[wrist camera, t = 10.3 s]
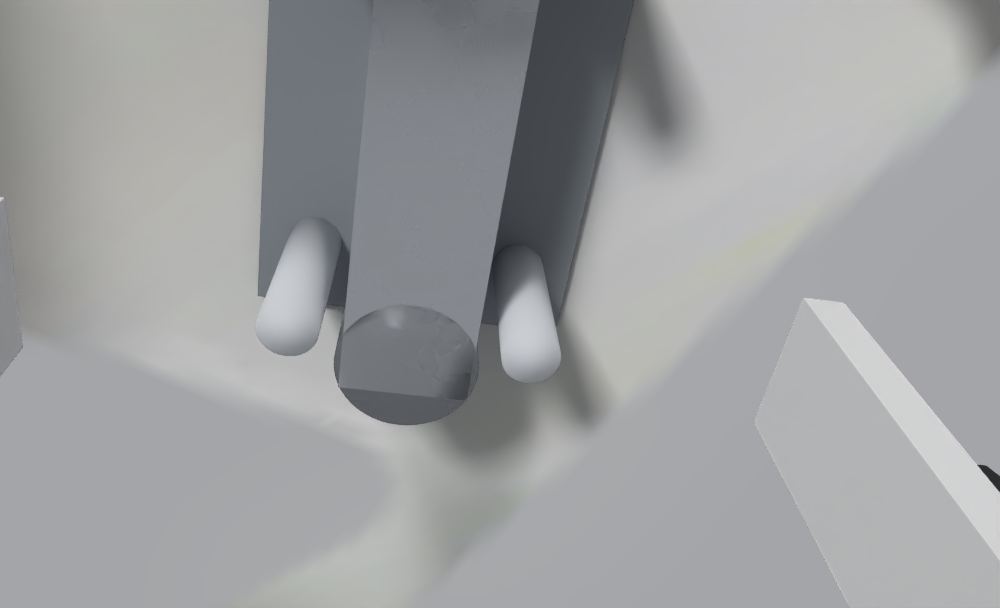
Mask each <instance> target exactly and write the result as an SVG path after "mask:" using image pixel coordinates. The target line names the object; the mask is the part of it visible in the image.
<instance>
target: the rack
mask: <svg viewBox="0 0 1000 608" xmlns="http://www.w3.org/2000/svg"><path fill="white" fill-rule="evenodd" d="M633 2H634V0H539V6H538V11H537V17H536V22H535V28H534V33H533V39H532V44H531V50H530V55H529V61H528V66H527V72H526V77H525V83H524V88H523V94H522V99H521V105H520V110H519V116H518V121H517V126H516V132H515V137H514V143H513V148H512V154H511V159H510V165H509V170H508V176H507V181H506V187H505V192H504V198H503V203H502V209H501V214H500V220H499V225H498V231H497V236H496V242H495V247H494V253H493V258H492V264H491V269H490V275H489V280H488V286H487V291H486V297H485V302H484V308H483V313H482V319H481V323H485V324H493V325H498V330H499V340H500V351H501V361H502V366H503V368H504V370H505V372H506V373H507V374H508V375H509V376H510V377H511V378H513V379H514V380H517V381H519V382H523V383H537V382H541V381H543V380H546V379H548V378H549V377H551V376H552V375H553V374H554V373H555V372H556V371H557V369H558V367H559V365H560V363H561V351H560V346H559V341H558V336H557V331H556V326H557V322H558V318H559V314H560V310H561V305H562V301H563V297H564V293H565V289H566V284H567V280H568V276H569V272H570V267H571V263H572V259H573V255H574V251H575V246H576V242H577V238H578V234H579V229H580V225H581V221H582V217H583V213H584V208H585V204H586V200H587V196H588V192H589V187H590V183H591V179H592V175H593V170H594V166H595V162H596V158H597V154H598V149H599V145H600V141H601V137H602V132H603V128H604V124H605V120H606V116H607V111H608V107H609V103H610V99H611V95H612V90H613V86H614V82H615V78H616V73H617V69H618V65H619V61H620V57H621V52H622V48H623V44H624V40H625V35H626V31H627V27H628V23H629V19H630V14H631V10H632V6H633ZM373 3H374V0H269V20H268V46H267V71H266V97H265V123H264V149H263V174H262V200H261V226H260V251H259V277H258V296H263V297H265V299H264V302H263V305H262V307H261V310H260V312H259V315H258V318H257V320H256V326H255V328H256V334H257V337H258V339H259V340H260V342H261V343H262V344H263V345H264V346H265V347H266V348H267V349H269V350H270V351H272V352H274V353H276V354H279V355H284V356H296V355H300V354H303V353H305V352H307V351H309V350H310V349H311V348H312V347H313V346H314V345H315V343H316V341H317V339H318V336H319V332H320V328H321V324H322V320H323V316H324V312H325V308H326V304H329V305H337V306H345V304H346V297H347V286H348V275H349V264H350V253H351V242H352V231H353V221H354V210H355V199H356V188H357V177H358V166H359V155H360V145H361V134H362V123H363V112H364V101H365V90H366V79H367V69H368V58H369V47H370V36H371V25H372V14H373Z"/></svg>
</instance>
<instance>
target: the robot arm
mask: <svg viewBox="0 0 1000 608" xmlns="http://www.w3.org/2000/svg"><path fill="white" fill-rule="evenodd" d="M22 348H23V345H22V337H21V328H20V320H19V312H18V304H17V295H16V287H15V279H14V271H13V262H12V254H11V246H10V238H9V229H8V221H7V213H6V205H5V198H2V197H0V376H1V375H2V374H3V372H4V371H5V370H6V369H7V367H8V366H9V365H10V363H11V362H12V361H13V359H14V358H15V357H16V356H17V354H18V353H19V352H20V350H21V349H22ZM754 424H755V426H756V428H757V430H758V432H759V433H760V436H761V437H762V439H763V441H764V443H765V445H766V447H767V449H768V451H769V453H770V455H771V457H772V459H773V461H774V463H775V465H776V467H777V469H778V470H779V472H780V474H781V476H782V478H783V480H784V482H785V484H786V486H787V488H788V490H789V492H790V493H791V496H792V498H793V500H794V502H795V503H796V505H797V507H798V509H799V511H800V513H801V515H802V517H803V519H804V521H805V523H806V525H807V527H808V529H809V531H810V533H811V535H812V536H813V538H814V540H815V542H816V544H817V546H818V548H819V550H820V552H821V554H822V556H823V557H824V560H825V562H826V564H827V565H828V567H829V569H830V571H831V573H832V575H833V577H834V579H835V581H836V583H837V585H838V587H839V589H840V591H841V593H842V594H843V597H844V598H845V601H846V602H847V604H848V606H849V608H1000V476H999V475H998V474H996V473H995V472H994V471H992V470H991V469H990V468H989V467H987V466H984V465H977V464H976V463H975V462H974V461H973V460H972V458H971V457H970V456H969V455H968V454H967V452H966V451H965V450H964V449H963V447H962V446H961V445H960V444H959V443H958V441H957V440H956V439H955V438H954V436H953V435H952V434H951V433H950V432H949V430H948V429H947V428H946V427H945V425H944V424H943V423H942V422H941V421H940V419H939V418H938V417H937V416H936V414H935V413H934V412H933V411H932V410H931V408H930V407H929V406H928V405H927V404H926V403H925V401H924V400H923V399H922V397H921V396H920V395H919V394H918V393H917V391H916V390H915V389H914V388H913V387H912V385H911V384H910V383H909V382H908V380H907V379H906V378H905V377H904V376H903V374H902V373H901V372H900V371H899V370H898V368H897V367H896V366H895V365H894V363H893V362H892V361H891V360H890V358H889V357H888V356H887V355H886V354H885V352H884V351H883V350H882V349H881V348H880V346H879V345H878V344H877V343H876V341H875V340H874V339H873V338H872V337H871V335H870V334H869V333H868V332H867V330H866V329H865V328H864V327H863V326H862V324H861V323H860V322H859V321H858V320H857V318H856V317H855V316H854V315H853V314H852V312H851V311H850V310H849V309H848V307H847V306H846V305H845V304H844V303H841V302H833V301H825V300H817V299H809V298H803V299H802V302H801V304H800V307H799V310H798V312H797V315H796V317H795V320H794V322H793V325H792V327H791V330H790V332H789V335H788V337H787V340H786V342H785V345H784V347H783V350H782V352H781V355H780V357H779V360H778V363H777V365H776V367H775V370H774V372H773V375H772V378H771V380H770V382H769V385H768V388H767V390H766V393H765V395H764V398H763V400H762V403H761V405H760V408H759V410H758V413H757V416H756V418H755V420H754Z"/></svg>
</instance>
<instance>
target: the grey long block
mask: <svg viewBox="0 0 1000 608" xmlns="http://www.w3.org/2000/svg"><path fill="white" fill-rule="evenodd" d="M538 6H539V0H374V3H373V14H372V25H371V36H370V47H369V58H368V69H367V79H366V90H365V101H364V112H363V123H362V134H361V145H360V155H359V166H358V177H357V188H356V199H355V210H354V221H353V231H352V242H351V253H350V264H349V275H348V286H347V297H346V304H345V309H344V314H343V318H342V323H341V327H340V332H339V337H338V341H337V346H336V351H335V356H334V371H335V377H336V380H337V383H338V387H340V389H341V391H342V392H343V394H344V395H345V397H346V398H347V399H348V400H349V401H350V402H351V403H352V404H353V405H354V406H355V407H356V408H357V409H359V410H360V411H362V412H363V413H365V414H366V415H368V416H370V417H372V418H375V419H377V420H380V421H383V422H387V423H391V424H398V425H417V424H424V423H428V422H432V421H435V420H438V419H440V418H443V417H444V416H446V415H448V414H450V413H451V412H453V411H454V410H456V409H457V408H458V407H459V406H460V405H462V404H463V403H464V401H467V398H468V397H469V395H470V393H471V392H472V390H473V388H474V386H475V383H476V380H477V376H478V368H479V367H478V348H477V341H478V335H479V330H480V324H481V319H482V313H483V308H484V302H485V297H486V291H487V286H488V280H489V275H490V269H491V264H492V258H493V253H494V247H495V242H496V236H497V231H498V225H499V220H500V214H501V209H502V203H503V198H504V192H505V187H506V181H507V176H508V170H509V165H510V159H511V154H512V148H513V143H514V137H515V132H516V126H517V121H518V116H519V110H520V105H521V99H522V94H523V88H524V83H525V77H526V72H527V66H528V61H529V55H530V50H531V44H532V39H533V33H534V28H535V22H536V17H537V11H538Z"/></svg>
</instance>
